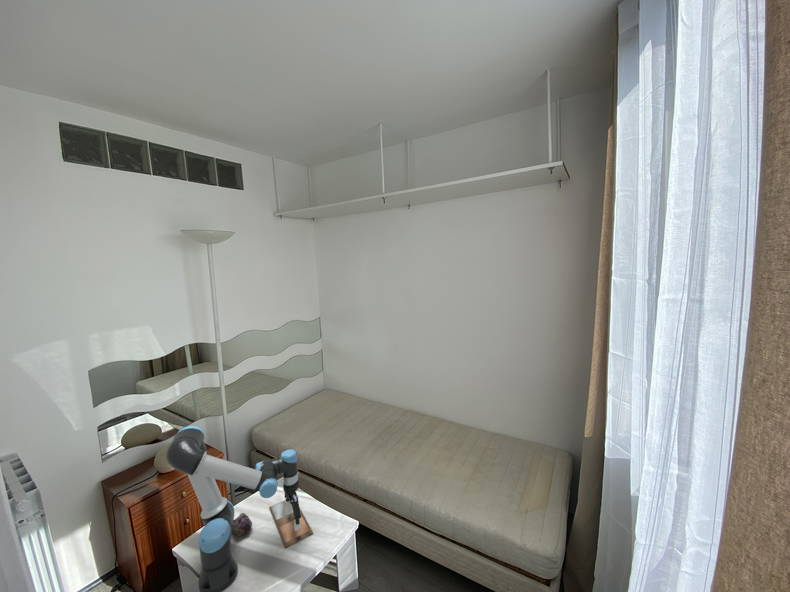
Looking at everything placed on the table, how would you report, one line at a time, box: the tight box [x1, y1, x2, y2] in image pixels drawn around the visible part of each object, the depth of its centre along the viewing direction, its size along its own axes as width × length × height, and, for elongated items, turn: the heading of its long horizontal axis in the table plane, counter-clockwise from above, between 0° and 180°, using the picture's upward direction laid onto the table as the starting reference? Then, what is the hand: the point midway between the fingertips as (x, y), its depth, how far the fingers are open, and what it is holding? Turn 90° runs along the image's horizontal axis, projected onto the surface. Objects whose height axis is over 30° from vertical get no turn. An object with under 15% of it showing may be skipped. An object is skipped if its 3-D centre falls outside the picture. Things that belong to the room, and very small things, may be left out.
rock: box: [232, 512, 253, 537], centre depth 165 cm, size 12×8×10 cm
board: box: [268, 499, 314, 549], centre depth 172 cm, size 14×33×1 cm, turn 34°
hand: (293, 520), depth 165 cm, fingers open, 13 cm apart
